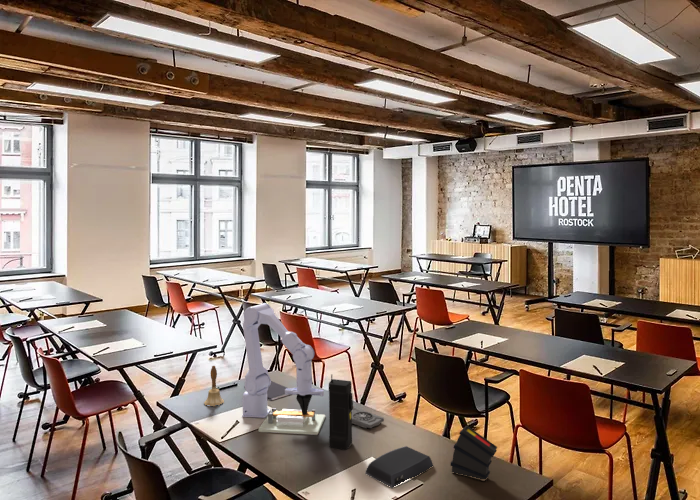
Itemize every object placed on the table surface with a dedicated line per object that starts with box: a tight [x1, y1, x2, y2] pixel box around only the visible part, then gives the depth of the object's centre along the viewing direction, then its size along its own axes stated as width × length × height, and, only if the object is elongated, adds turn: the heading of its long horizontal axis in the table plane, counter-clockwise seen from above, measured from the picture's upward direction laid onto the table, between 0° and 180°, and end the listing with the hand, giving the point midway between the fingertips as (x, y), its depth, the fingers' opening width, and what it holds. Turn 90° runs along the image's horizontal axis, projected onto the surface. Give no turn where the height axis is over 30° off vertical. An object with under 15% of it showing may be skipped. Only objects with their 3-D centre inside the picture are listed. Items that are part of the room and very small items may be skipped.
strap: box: [270, 409, 314, 417], centre depth 201 cm, size 17×3×1 cm, turn 82°
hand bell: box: [203, 365, 225, 407], centre depth 222 cm, size 8×8×16 cm
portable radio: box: [328, 374, 354, 450], centre depth 183 cm, size 8×6×25 cm
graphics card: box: [352, 404, 385, 429], centre depth 203 cm, size 17×4×12 cm
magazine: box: [450, 425, 498, 479], centre depth 162 cm, size 4×13×15 cm, turn 59°
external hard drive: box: [364, 445, 434, 488], centre depth 167 cm, size 13×19×4 cm
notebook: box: [243, 380, 291, 401], centre depth 237 cm, size 13×2×21 cm
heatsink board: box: [258, 407, 326, 436], centre depth 201 cm, size 22×16×5 cm
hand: (304, 413), depth 200 cm, fingers closed, pressing on strap
